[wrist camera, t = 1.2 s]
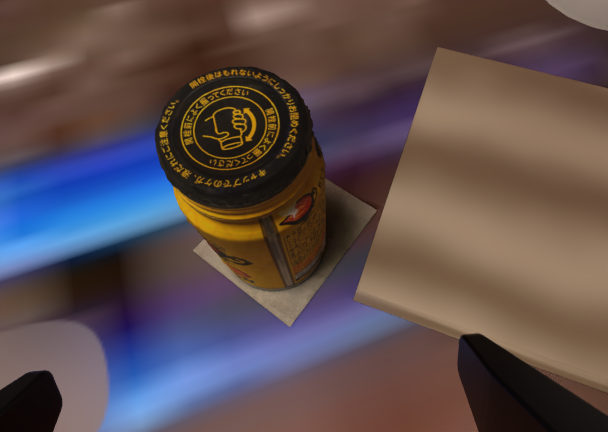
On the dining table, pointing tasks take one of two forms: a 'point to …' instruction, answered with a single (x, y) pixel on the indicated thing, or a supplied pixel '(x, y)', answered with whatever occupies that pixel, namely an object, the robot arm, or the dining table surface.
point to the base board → (501, 216)
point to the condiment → (257, 186)
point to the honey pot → (584, 11)
